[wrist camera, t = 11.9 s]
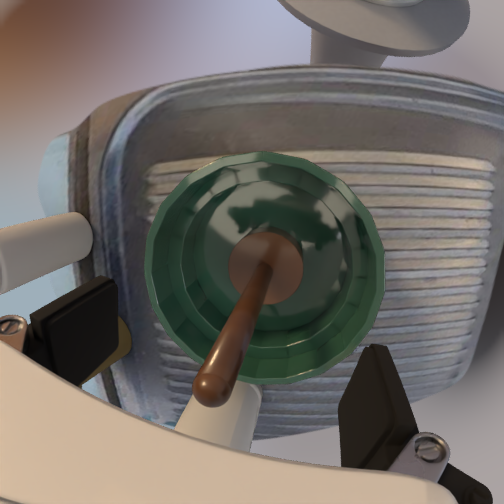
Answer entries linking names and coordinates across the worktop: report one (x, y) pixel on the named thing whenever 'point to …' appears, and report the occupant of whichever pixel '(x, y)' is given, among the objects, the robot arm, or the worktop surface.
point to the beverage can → (42, 247)
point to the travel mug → (225, 418)
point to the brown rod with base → (248, 306)
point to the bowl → (240, 224)
